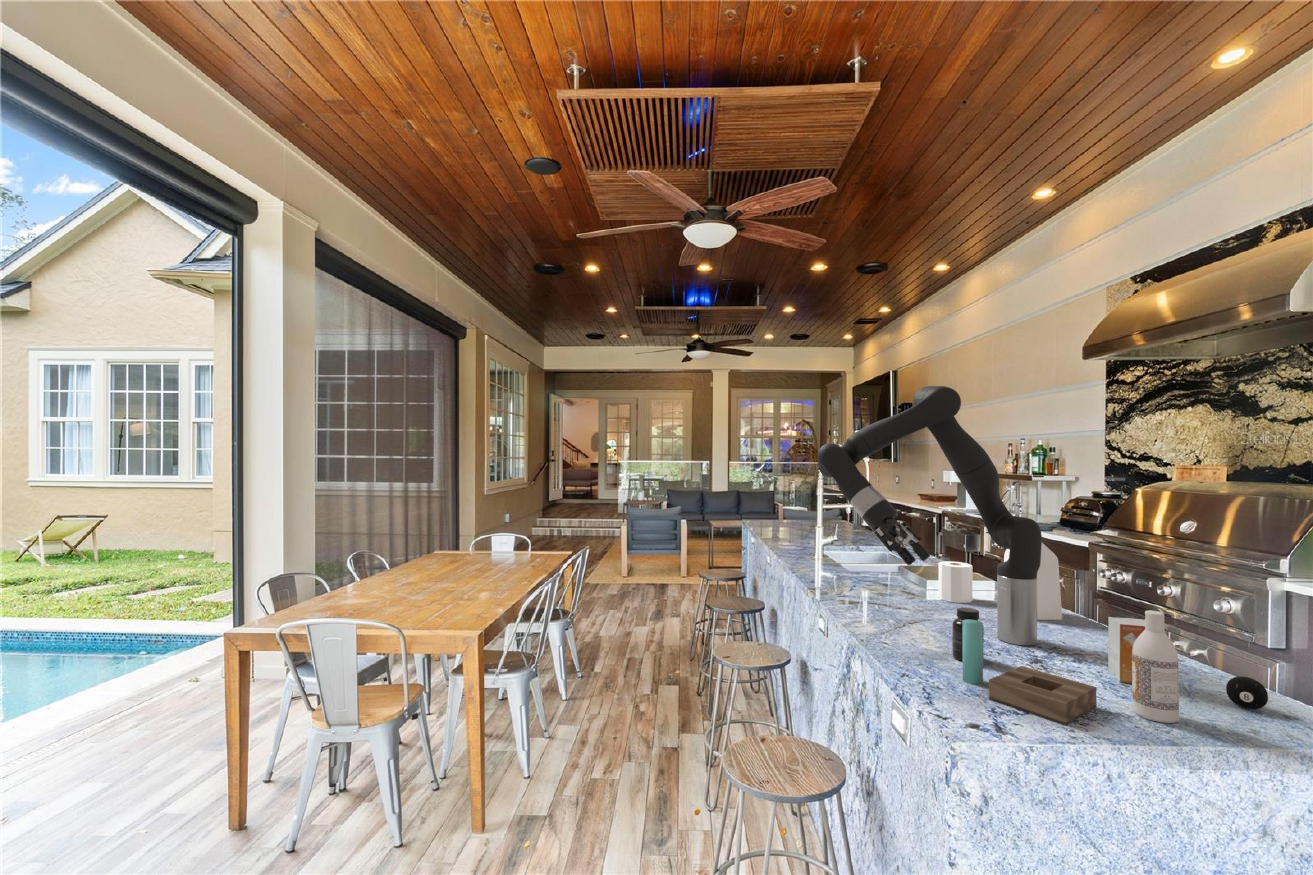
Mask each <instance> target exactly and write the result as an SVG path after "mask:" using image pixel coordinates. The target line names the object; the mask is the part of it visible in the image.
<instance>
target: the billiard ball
mask: <svg viewBox="0 0 1313 875" xmlns="http://www.w3.org/2000/svg"><path fill="white" fill-rule="evenodd" d="M1225 691H1226V692H1225V693H1226V694H1227V697H1228V698H1229V700H1230V701H1231V702H1232V703H1234V704H1235V705H1236V706H1238V707H1240V708H1242V709H1243V708H1244V709H1247V710H1259V709H1263V708H1264V707H1265V706H1266V705H1267V704H1268V701H1269V693H1268V691H1267V689H1266V688H1265V686H1264V685H1263V684H1262V683H1261V682H1259V681H1258V680H1256V679H1254V678H1252V677H1248V676H1233V677H1231V678H1230V679H1229V680H1228V681H1227V683H1226V686H1225Z"/></svg>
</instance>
